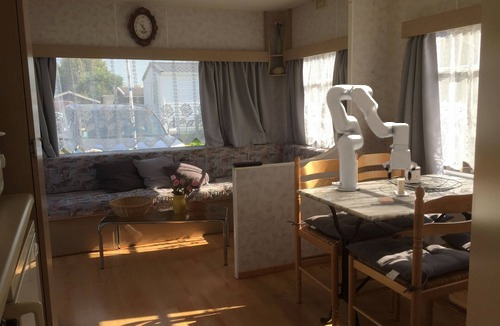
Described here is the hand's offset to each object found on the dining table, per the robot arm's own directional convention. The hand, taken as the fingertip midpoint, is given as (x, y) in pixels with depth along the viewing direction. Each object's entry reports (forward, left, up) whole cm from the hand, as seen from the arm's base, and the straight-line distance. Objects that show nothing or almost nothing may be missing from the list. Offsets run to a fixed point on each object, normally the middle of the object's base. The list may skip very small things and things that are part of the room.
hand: (399, 179), depth 226 cm
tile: (-9, -12, -7) cm, 17 cm away
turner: (+1, -1, -8) cm, 8 cm away
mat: (-9, -16, -9) cm, 20 cm away
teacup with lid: (+13, +32, -9) cm, 36 cm away
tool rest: (+1, -1, -9) cm, 9 cm away
